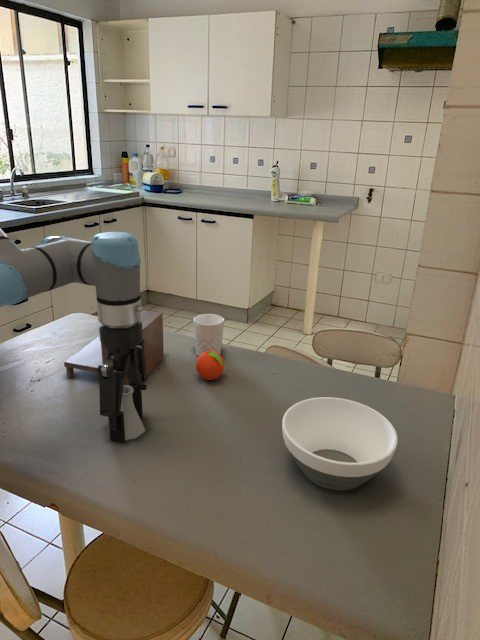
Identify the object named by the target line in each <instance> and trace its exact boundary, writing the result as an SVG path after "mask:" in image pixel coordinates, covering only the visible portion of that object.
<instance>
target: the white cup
mask: <svg viewBox="0 0 480 640" xmlns="http://www.w3.org/2000/svg"><path fill="white" fill-rule="evenodd" d="M224 323H225V318H224V317H223V316H221V315H219V314H215V313H202V314H198V315H196V316H195V317H194V318H193V330H194V332H193V333H194V343H195V344H194V345H195V354H196V355H197V356H198V357H199V356H200V355H201V354H202V353H204V352H206V351H214V352H216V353H218V354H219V355H220V356H221V354H222V345H223V337H224Z"/></svg>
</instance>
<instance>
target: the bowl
mask: <svg viewBox="0 0 480 640" xmlns="http://www.w3.org/2000/svg"><path fill="white" fill-rule="evenodd" d="M281 427H282V437H283V441H284V444H285V446H286V448H287V450H288V452H289V454H290V455H291V457H292V458H293V460H294V462H295V463H296V465H297V466H298V468H299V469H300V470H301V471H302V473H303V474H304V475H305V477H306V478H307V479H308V480H309V481H311V482H312V483H314V484H315V485H317V486H320V487H321V488H324V489H328V490H330V491H331V490H332V491H349V490H353V489H357V488H358V487H359V486H361V485H362V484H365V483H366V482H368V481H370V480H371V479H372V478H373V477H375V475H378V474H379V473H380V472H381V471H382V470H383V469H385V468H386V467H387V465H388V464H389V463H390V462H391V460H392V459H393V457H394V455H395V452H396V450H397V446H398V434H397V430H396V429H395V427H394V426H393V424H392V423H391V422H390V421H389V420H388V419H387V418H386V417H385V416H384V415H382V414H381V413H380V412H379V411H378V410H375V409H373V408H372V407H370V406H368V405H365V404H363V403H361V402H359V401H358V402H357V401H355V400H351V399H347V398H340V397H332V396H323V397H321V396H319V397H311V398H307V399H303V400H301V401H299V402H296V403H294V404H292V405H291V406H290V407H289V408H288V409H287V410H286V411H285V413H284V414H283V416H282V423H281ZM323 450H330V451H336V452H339V453H343V454H345V455H347V456H349V457H350V458H352V459H353V460H354V461H355V462H347V461H338V460H334V459H329V458H325V457H322V456H320V455H317V454H315V452H318V451H323Z"/></svg>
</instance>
